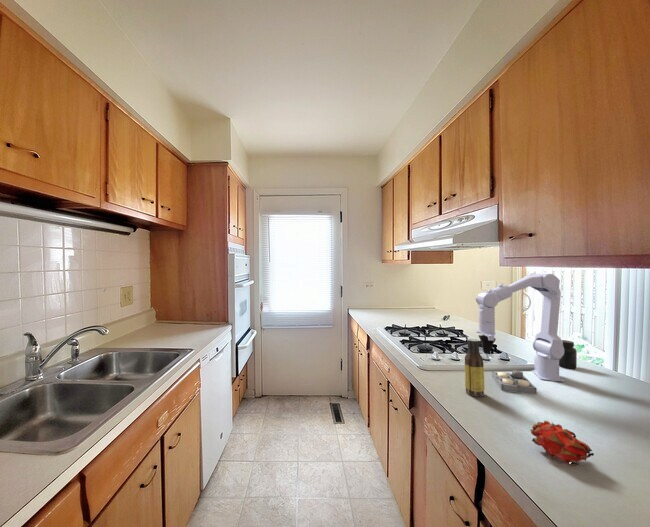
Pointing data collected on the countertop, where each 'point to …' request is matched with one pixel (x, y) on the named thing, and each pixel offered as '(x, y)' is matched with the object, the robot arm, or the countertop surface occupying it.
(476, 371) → the sauce bottle
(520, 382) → the button front left
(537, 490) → the countertop surface
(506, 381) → the button front right
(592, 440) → the countertop surface
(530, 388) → the button board
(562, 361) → the supplement bottle
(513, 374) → the button back left charcoal
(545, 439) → the dragon fruit
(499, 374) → the button back right
